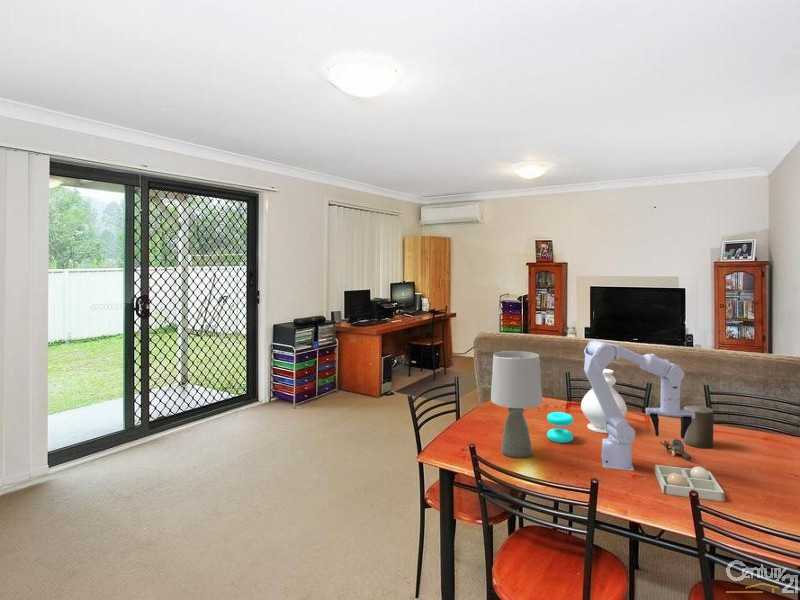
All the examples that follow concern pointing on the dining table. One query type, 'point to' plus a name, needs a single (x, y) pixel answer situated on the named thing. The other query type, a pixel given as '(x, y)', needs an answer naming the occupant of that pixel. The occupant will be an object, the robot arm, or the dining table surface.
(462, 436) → the dining table surface
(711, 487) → the egg tray
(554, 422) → the donuts
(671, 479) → the brown egg
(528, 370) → the lamp
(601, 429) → the decorative vase
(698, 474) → the cream egg
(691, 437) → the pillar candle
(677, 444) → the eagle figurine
